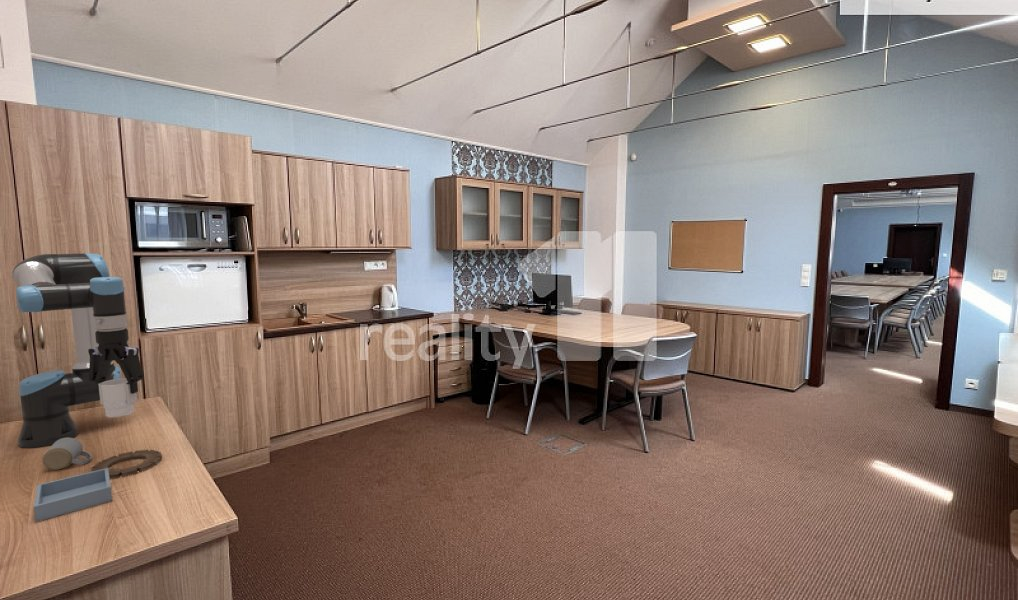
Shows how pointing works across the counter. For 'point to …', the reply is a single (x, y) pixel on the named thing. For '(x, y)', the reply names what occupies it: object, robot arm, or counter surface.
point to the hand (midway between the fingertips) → (119, 403)
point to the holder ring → (149, 455)
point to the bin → (72, 494)
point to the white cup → (115, 398)
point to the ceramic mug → (65, 454)
